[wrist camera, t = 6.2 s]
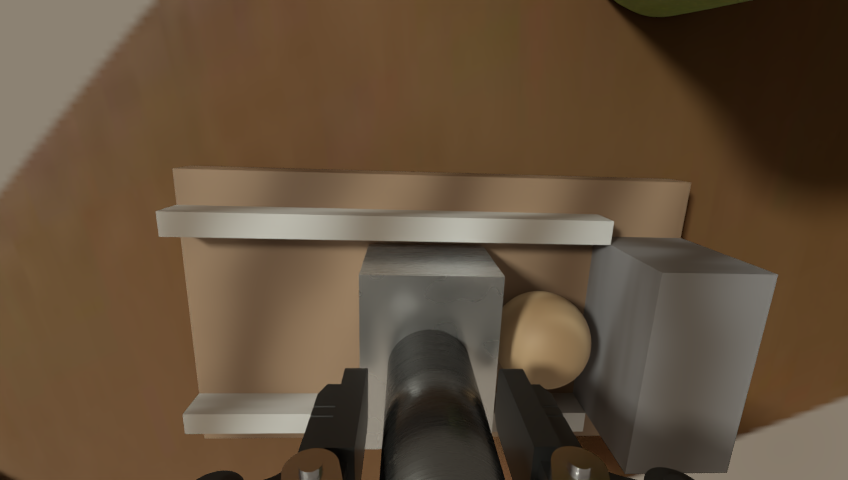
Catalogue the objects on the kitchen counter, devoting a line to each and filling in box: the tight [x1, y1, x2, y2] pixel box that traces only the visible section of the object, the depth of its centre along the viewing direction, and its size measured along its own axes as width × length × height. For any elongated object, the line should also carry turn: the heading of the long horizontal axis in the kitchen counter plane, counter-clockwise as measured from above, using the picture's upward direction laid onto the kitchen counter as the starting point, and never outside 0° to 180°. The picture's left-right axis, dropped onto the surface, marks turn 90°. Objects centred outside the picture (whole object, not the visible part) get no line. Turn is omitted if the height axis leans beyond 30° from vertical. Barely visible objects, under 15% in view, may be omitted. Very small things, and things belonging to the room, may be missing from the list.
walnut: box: [498, 291, 591, 389], centre depth 17 cm, size 4×4×4 cm
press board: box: [156, 166, 778, 474], centre depth 17 cm, size 22×13×6 cm, turn 88°
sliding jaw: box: [359, 244, 505, 480], centre depth 13 cm, size 5×7×11 cm
